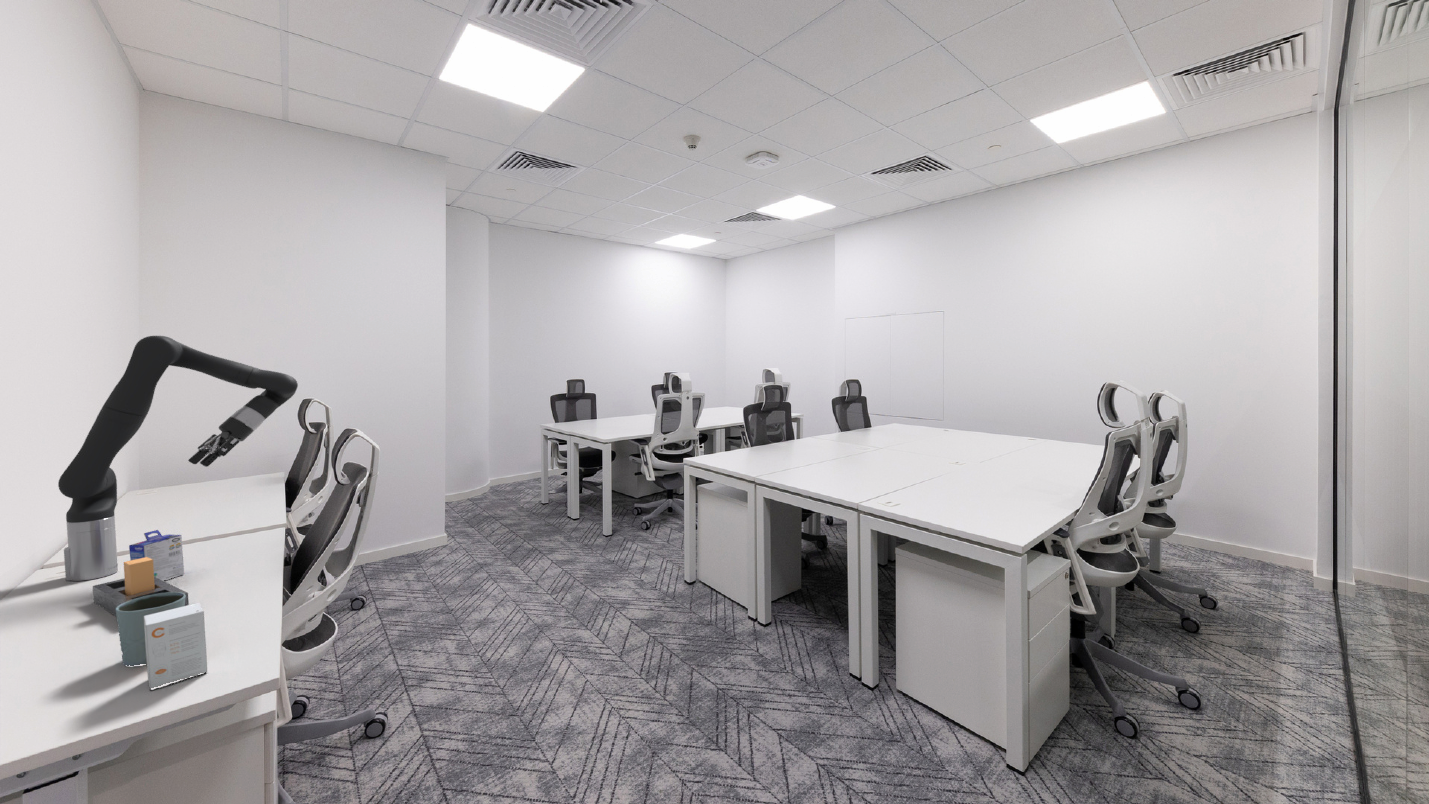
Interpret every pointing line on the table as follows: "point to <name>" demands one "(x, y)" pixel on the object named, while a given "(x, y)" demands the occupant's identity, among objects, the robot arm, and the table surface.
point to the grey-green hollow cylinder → (141, 622)
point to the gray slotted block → (115, 595)
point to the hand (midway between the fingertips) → (197, 463)
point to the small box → (175, 644)
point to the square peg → (138, 576)
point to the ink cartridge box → (161, 554)
